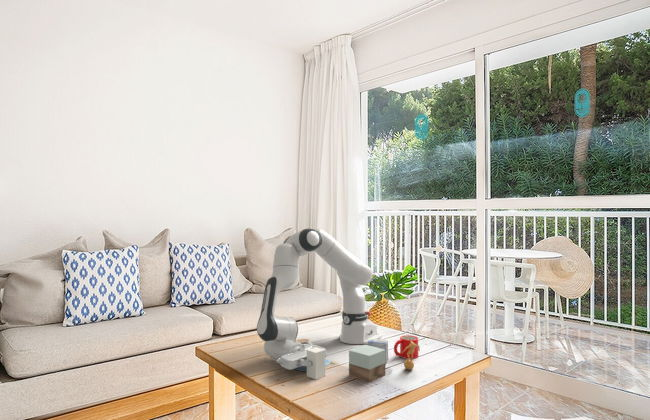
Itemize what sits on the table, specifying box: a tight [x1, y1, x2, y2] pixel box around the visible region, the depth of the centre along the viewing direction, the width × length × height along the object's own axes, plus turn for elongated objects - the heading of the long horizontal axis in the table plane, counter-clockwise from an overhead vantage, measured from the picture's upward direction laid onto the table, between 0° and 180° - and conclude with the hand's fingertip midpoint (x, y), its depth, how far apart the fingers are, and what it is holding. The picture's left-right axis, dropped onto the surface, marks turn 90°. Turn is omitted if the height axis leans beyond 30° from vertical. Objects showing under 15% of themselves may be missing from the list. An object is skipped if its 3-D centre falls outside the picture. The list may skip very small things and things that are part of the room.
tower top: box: [348, 344, 387, 370], centre depth 164 cm, size 10×10×5 cm
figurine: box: [402, 341, 421, 371], centre depth 169 cm, size 8×6×12 cm
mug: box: [393, 335, 419, 360], centre depth 186 cm, size 8×12×8 cm, turn 119°
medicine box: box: [367, 338, 389, 364], centre depth 180 cm, size 8×4×9 cm, turn 71°
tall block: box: [306, 347, 326, 380], centre depth 164 cm, size 5×5×10 cm
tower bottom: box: [348, 362, 386, 383], centre depth 164 cm, size 10×10×5 cm
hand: (317, 362), depth 163 cm, fingers closed on tall block, 5 cm apart
